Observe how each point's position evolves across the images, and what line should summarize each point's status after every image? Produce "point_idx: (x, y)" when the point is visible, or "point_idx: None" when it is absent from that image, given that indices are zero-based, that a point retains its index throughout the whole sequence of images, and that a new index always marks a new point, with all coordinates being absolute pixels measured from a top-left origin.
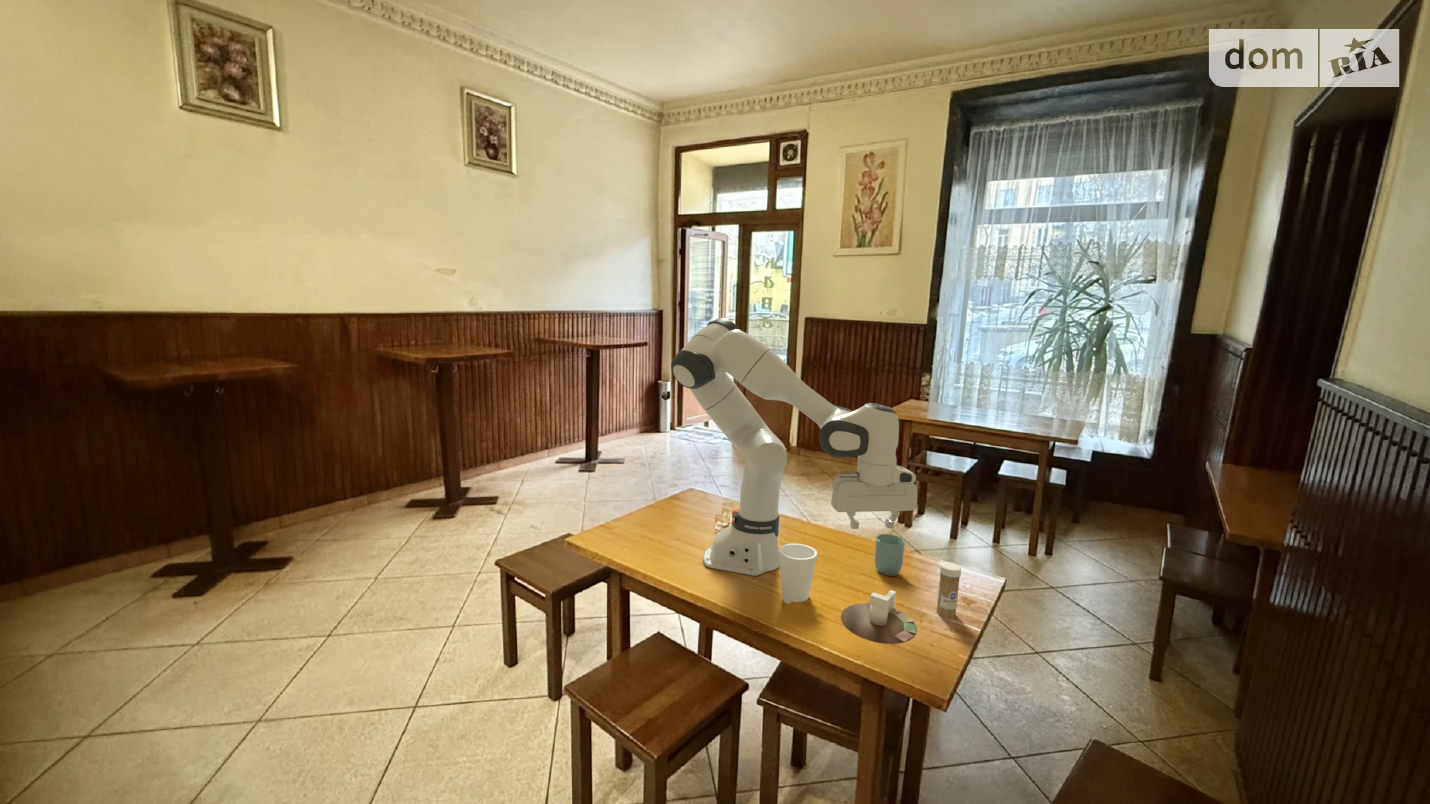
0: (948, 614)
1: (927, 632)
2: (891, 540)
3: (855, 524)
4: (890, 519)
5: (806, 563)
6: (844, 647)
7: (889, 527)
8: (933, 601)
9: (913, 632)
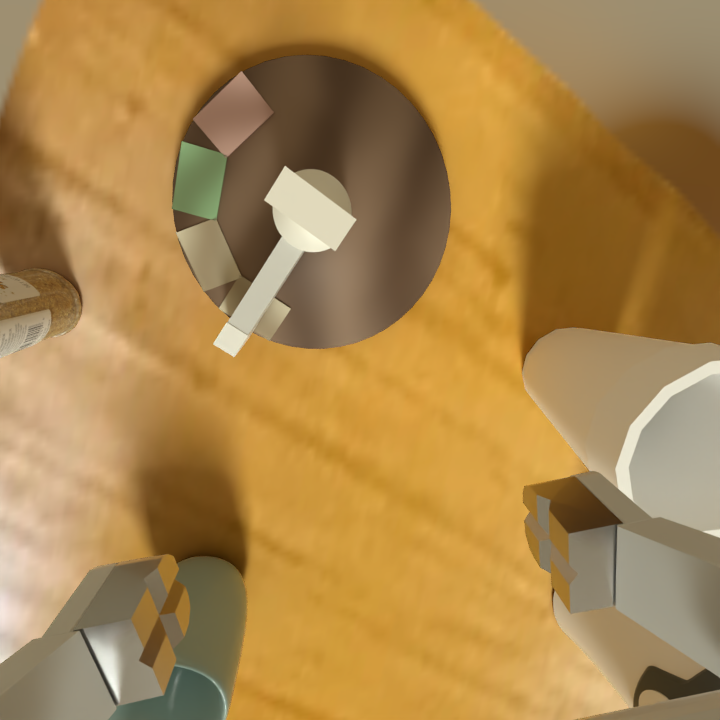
0: (21, 272)
1: (135, 194)
2: (157, 717)
3: (601, 507)
4: (88, 683)
5: (686, 356)
6: (467, 60)
7: (145, 560)
8: (74, 413)
9: (191, 145)
